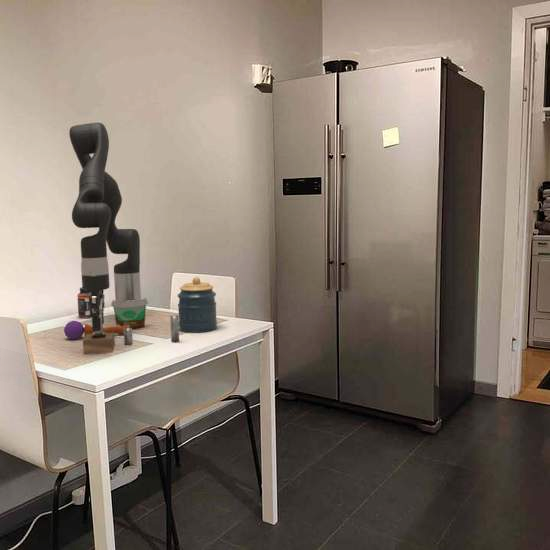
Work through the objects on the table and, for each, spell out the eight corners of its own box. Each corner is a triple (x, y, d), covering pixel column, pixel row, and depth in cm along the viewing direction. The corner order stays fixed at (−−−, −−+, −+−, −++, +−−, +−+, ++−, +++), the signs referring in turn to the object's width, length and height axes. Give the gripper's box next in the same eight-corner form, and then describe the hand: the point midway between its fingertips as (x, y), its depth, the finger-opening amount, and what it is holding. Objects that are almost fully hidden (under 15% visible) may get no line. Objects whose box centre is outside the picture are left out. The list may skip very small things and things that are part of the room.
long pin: (95, 348, 163) (93, 308, 161) (104, 348, 163) (102, 308, 162) (95, 350, 161) (92, 310, 159) (103, 350, 161) (101, 310, 159)
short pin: (124, 343, 168) (123, 327, 168) (132, 343, 169) (132, 327, 168) (124, 345, 166) (123, 329, 165) (132, 345, 166) (131, 329, 166)
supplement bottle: (92, 318, 207) (90, 288, 205) (76, 318, 206) (74, 288, 205) (97, 315, 213) (95, 286, 211) (81, 315, 212) (79, 286, 211)
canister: (182, 334, 179) (180, 280, 177) (175, 326, 191) (173, 275, 189) (221, 331, 183) (219, 278, 181) (212, 323, 195) (211, 273, 193)
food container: (115, 332, 183) (113, 302, 182) (112, 328, 189) (110, 299, 188) (152, 328, 188) (150, 299, 187) (148, 324, 194) (147, 296, 193)
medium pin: (171, 340, 171) (170, 315, 170) (179, 340, 172) (178, 315, 170) (171, 342, 169) (170, 317, 168) (179, 342, 169) (178, 316, 168)
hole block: (87, 347, 165) (86, 334, 164) (114, 345, 167) (114, 332, 166) (83, 354, 157) (82, 340, 157) (112, 352, 159) (111, 338, 158)
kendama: (129, 325, 177) (63, 325, 171) (129, 342, 178) (63, 342, 173) (129, 318, 182) (65, 317, 176) (128, 334, 184) (64, 335, 178)
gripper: (84, 270, 165) (88, 323, 167) (77, 276, 151) (81, 334, 153) (110, 269, 167) (113, 321, 169) (106, 275, 153) (109, 332, 155)
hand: (98, 327), depth 161 cm, fingers open, 8 cm apart
